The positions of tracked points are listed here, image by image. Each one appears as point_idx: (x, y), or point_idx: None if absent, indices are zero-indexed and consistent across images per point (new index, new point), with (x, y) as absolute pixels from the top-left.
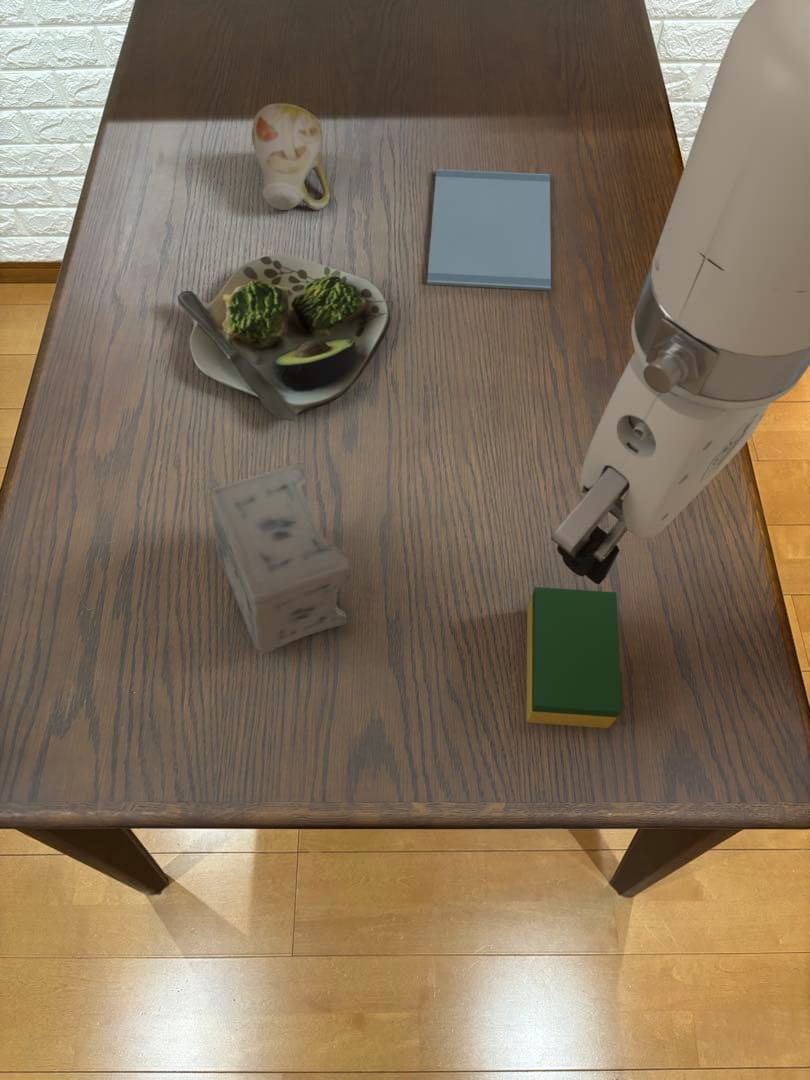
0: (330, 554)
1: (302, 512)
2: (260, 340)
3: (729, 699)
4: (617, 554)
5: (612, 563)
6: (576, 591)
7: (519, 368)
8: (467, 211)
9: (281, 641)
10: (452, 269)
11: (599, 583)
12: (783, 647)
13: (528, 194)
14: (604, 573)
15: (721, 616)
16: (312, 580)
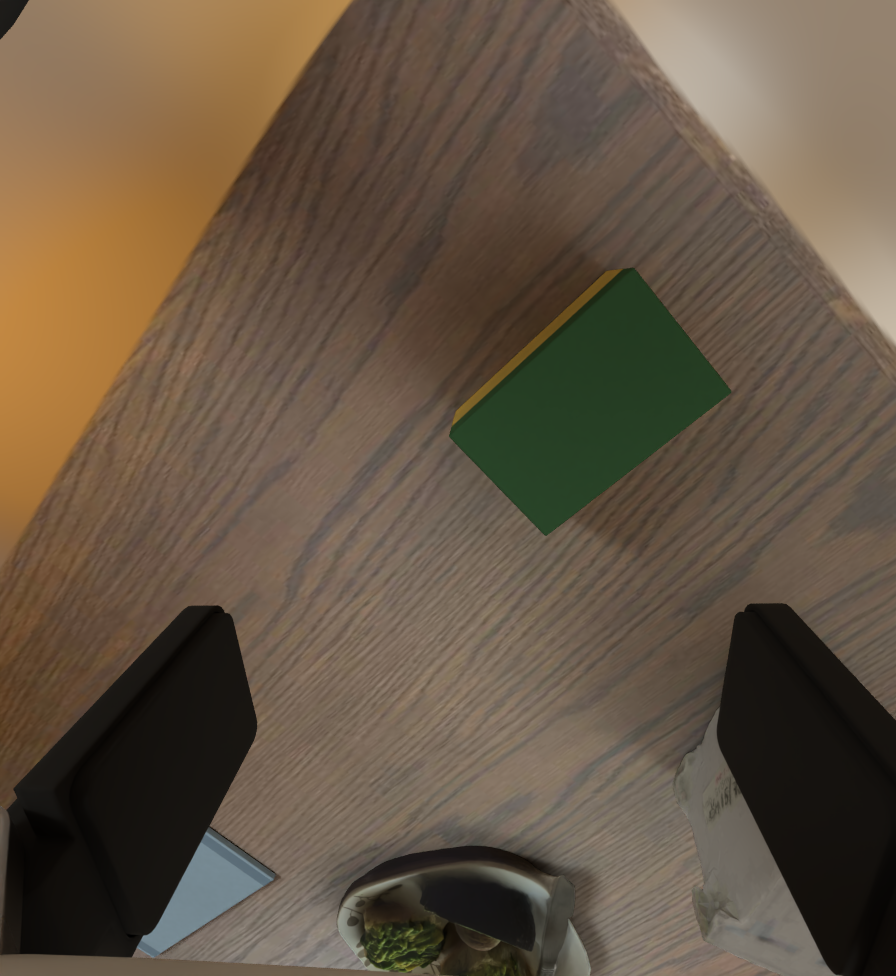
0: None
1: (780, 898)
2: (509, 961)
3: (410, 149)
4: (893, 771)
5: (841, 700)
6: (500, 484)
7: (261, 736)
8: None
9: None
10: (233, 871)
11: (791, 608)
12: (258, 146)
13: None
14: (842, 665)
15: (305, 270)
16: None
